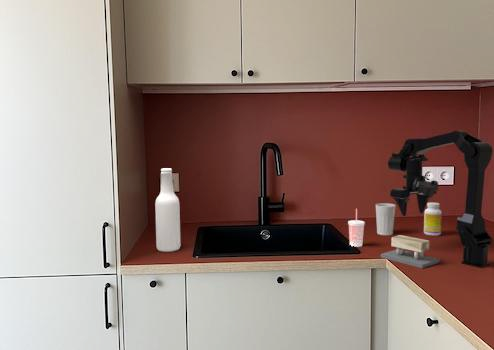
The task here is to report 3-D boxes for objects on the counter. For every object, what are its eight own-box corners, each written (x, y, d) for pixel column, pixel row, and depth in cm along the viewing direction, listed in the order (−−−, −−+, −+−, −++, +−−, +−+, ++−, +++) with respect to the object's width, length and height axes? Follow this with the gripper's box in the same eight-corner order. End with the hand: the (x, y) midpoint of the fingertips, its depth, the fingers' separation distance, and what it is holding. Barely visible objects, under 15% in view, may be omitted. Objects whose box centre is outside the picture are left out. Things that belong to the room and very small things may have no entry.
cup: (371, 232, 205) (371, 204, 204) (386, 230, 208) (387, 202, 207) (382, 236, 198) (383, 207, 196) (398, 234, 201) (399, 205, 199)
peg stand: (439, 262, 162) (439, 250, 161) (421, 268, 156) (422, 255, 155) (398, 252, 174) (398, 240, 174) (380, 257, 168) (381, 245, 168)
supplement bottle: (442, 236, 197) (443, 205, 196) (425, 235, 198) (426, 204, 197) (439, 232, 204) (440, 202, 202) (422, 231, 205) (423, 201, 203)
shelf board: (399, 243, 170) (399, 235, 170) (428, 249, 162) (429, 240, 162) (391, 245, 167) (391, 237, 167) (421, 252, 159) (421, 243, 158)
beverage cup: (367, 245, 184) (368, 209, 182) (355, 248, 180) (356, 210, 179) (356, 242, 189) (356, 206, 187) (344, 244, 186) (344, 208, 184)
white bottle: (154, 252, 177) (151, 170, 174) (159, 245, 186) (156, 167, 182) (178, 252, 177) (176, 169, 174) (182, 245, 186) (180, 167, 182)
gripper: (414, 176, 168) (412, 221, 169) (449, 173, 177) (447, 215, 179) (389, 173, 177) (388, 215, 179) (424, 170, 187) (423, 210, 188)
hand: (412, 214), depth 181 cm, fingers open, 9 cm apart
